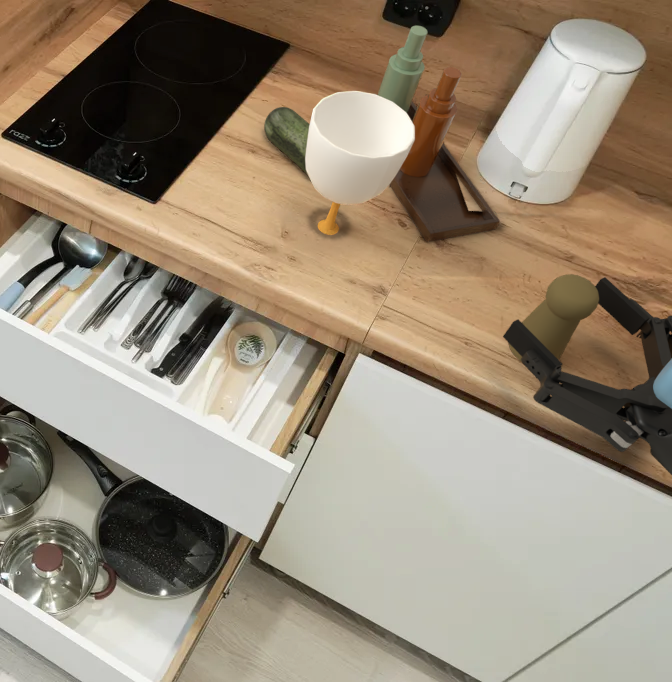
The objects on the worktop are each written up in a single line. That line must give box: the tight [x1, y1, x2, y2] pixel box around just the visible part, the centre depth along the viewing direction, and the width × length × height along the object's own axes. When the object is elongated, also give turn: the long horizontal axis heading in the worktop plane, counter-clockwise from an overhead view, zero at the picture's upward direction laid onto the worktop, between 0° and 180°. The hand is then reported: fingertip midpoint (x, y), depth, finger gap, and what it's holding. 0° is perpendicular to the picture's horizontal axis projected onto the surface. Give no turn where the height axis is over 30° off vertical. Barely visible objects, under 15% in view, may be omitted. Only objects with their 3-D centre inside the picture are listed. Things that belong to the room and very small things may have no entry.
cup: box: [305, 90, 415, 236], centre depth 96 cm, size 12×12×17 cm
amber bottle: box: [400, 66, 462, 177], centre depth 105 cm, size 5×5×15 cm
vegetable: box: [263, 106, 310, 176], centre depth 109 cm, size 14×5×5 cm, turn 36°
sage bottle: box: [376, 25, 428, 113], centre depth 110 cm, size 5×5×15 cm
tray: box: [389, 100, 501, 243], centre depth 111 cm, size 27×10×2 cm, turn 16°
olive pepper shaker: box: [508, 273, 599, 362], centre depth 90 cm, size 6×6×11 cm
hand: (554, 306), depth 89 cm, fingers open, 13 cm apart
